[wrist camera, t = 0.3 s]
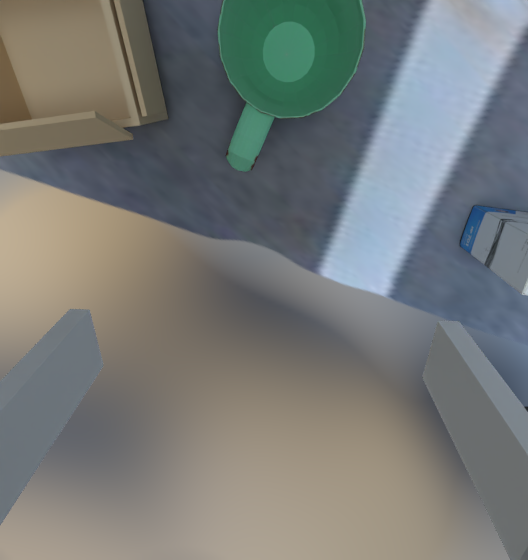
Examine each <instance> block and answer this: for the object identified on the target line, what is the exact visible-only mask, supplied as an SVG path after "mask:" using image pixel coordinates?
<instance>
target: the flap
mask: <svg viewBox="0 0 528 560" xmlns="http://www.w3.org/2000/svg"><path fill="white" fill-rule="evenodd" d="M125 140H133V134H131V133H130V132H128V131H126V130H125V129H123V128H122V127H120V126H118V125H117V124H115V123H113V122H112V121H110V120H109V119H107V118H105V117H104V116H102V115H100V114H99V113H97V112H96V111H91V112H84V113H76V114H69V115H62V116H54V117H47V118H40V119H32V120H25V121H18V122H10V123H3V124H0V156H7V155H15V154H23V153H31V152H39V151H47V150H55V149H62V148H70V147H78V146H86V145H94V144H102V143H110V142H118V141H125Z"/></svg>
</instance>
